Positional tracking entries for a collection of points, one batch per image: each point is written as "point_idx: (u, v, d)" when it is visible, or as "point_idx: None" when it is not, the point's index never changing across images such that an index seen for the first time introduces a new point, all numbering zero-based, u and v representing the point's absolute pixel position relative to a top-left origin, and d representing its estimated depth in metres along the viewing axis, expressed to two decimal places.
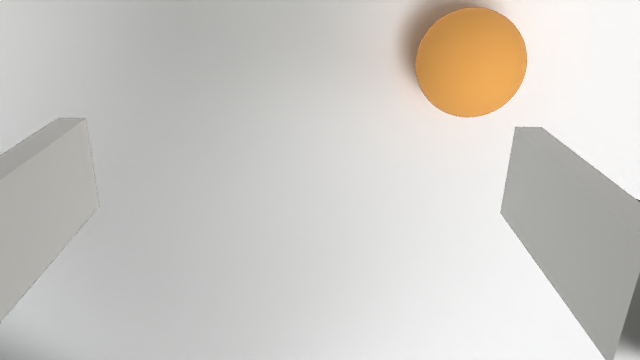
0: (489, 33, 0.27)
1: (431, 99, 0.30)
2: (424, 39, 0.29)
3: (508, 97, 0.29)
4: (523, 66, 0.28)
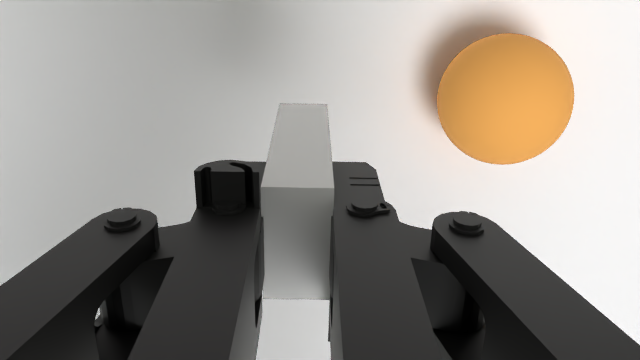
0: (531, 67, 0.22)
1: (456, 143, 0.25)
2: (449, 71, 0.24)
3: (551, 143, 0.24)
4: (571, 106, 0.23)
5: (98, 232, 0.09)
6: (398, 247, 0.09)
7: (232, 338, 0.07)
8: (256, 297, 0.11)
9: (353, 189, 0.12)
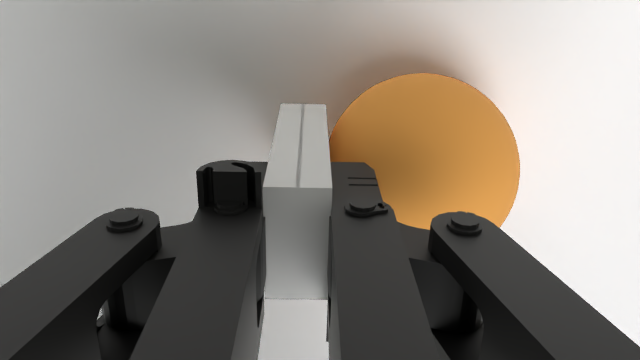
0: (475, 129, 0.14)
1: None
2: (345, 134, 0.15)
3: None
4: None
5: (100, 232, 0.09)
6: (396, 247, 0.09)
7: (234, 338, 0.07)
8: (258, 297, 0.11)
9: (351, 189, 0.12)
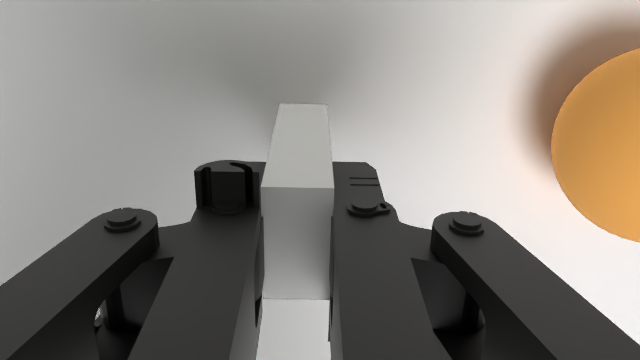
0: (588, 74, 0.16)
1: None
2: None
3: (573, 194, 0.16)
4: (584, 147, 0.15)
5: (98, 232, 0.09)
6: (398, 247, 0.09)
7: (232, 338, 0.07)
8: (256, 297, 0.11)
9: (353, 189, 0.12)
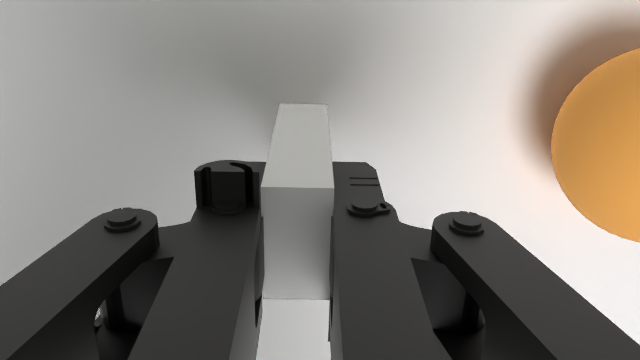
0: (588, 74, 0.16)
1: None
2: None
3: (573, 194, 0.16)
4: (584, 147, 0.15)
5: (98, 232, 0.09)
6: (398, 247, 0.09)
7: (232, 338, 0.07)
8: (256, 297, 0.11)
9: (353, 189, 0.12)
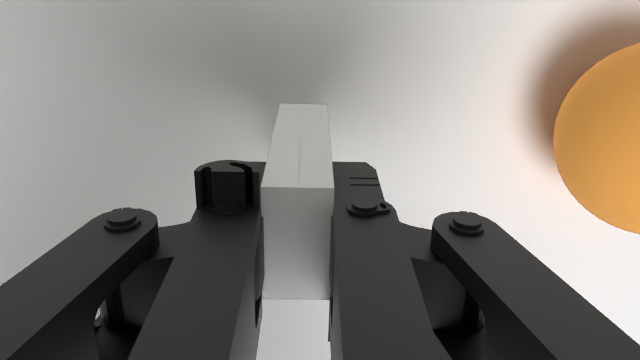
0: (590, 68, 0.17)
1: None
2: None
3: (574, 187, 0.16)
4: (586, 139, 0.15)
5: (98, 232, 0.09)
6: (398, 247, 0.09)
7: (232, 338, 0.07)
8: (256, 297, 0.11)
9: (353, 189, 0.12)
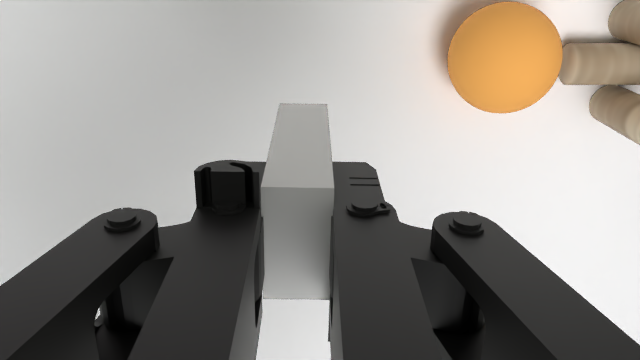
0: None
1: None
2: None
3: (456, 85, 0.30)
4: (457, 56, 0.28)
5: (98, 232, 0.09)
6: (398, 247, 0.09)
7: (232, 338, 0.07)
8: (256, 297, 0.11)
9: (353, 189, 0.12)
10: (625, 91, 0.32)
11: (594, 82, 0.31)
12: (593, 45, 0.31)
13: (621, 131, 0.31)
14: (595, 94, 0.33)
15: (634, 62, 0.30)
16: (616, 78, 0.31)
